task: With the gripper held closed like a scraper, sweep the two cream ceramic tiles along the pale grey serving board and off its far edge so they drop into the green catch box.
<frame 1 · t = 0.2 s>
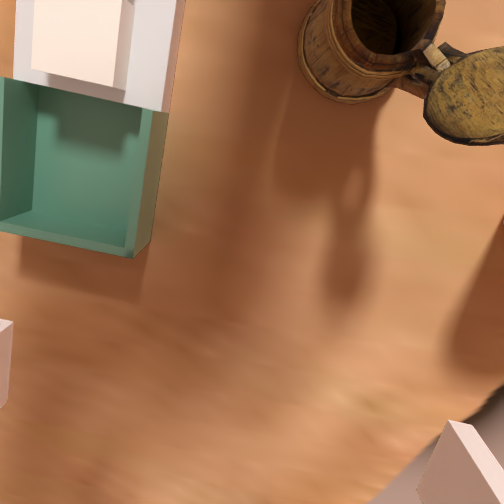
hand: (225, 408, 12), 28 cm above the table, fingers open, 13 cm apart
wooden mug: (367, 69, 35), on the table
tile b: (92, 41, 32), point 3 cm above the table, touching board
catch box: (94, 166, 38), on the table
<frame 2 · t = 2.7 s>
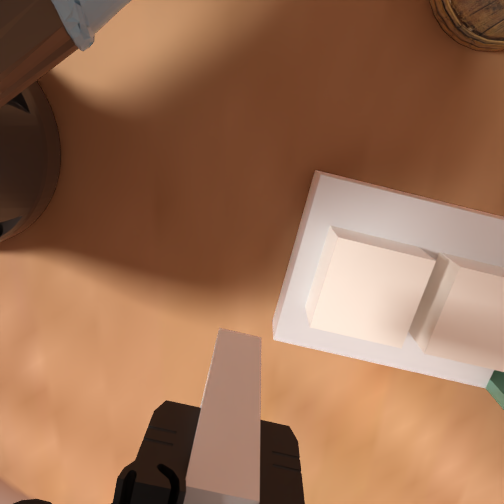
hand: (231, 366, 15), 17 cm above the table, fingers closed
tile b: (465, 302, 28), point 3 cm above the table, touching board
tile a: (359, 277, 28), point 3 cm above the table, touching board
board: (395, 274, 31), on the table
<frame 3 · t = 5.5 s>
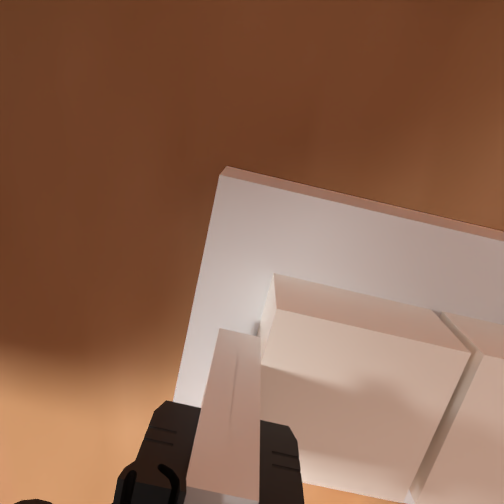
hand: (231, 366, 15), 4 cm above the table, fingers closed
tile b: (487, 395, 16), point 3 cm above the table, touching board
tile a: (329, 361, 16), point 3 cm above the table, touching board, gripper
board: (370, 336, 19), on the table
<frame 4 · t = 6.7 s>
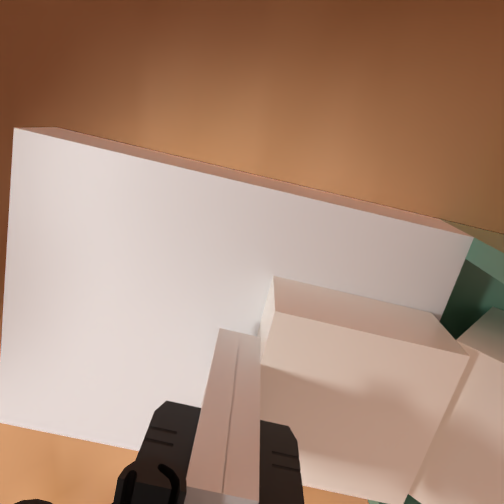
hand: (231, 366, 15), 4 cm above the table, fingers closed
tile b: (447, 387, 16), point 3 cm above the table, tilted 50°, touching catch box, tile a
tile a: (329, 364, 16), point 3 cm above the table, touching board, tile b
board: (221, 304, 19), on the table
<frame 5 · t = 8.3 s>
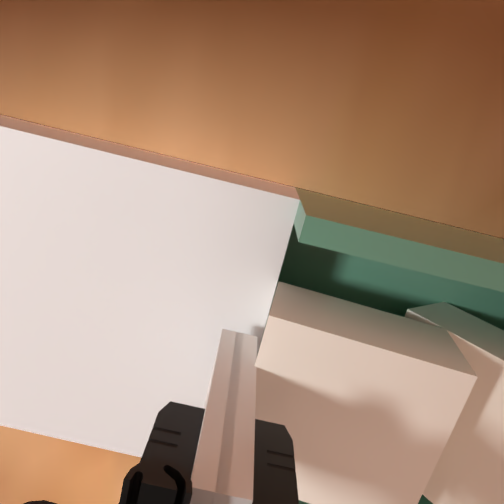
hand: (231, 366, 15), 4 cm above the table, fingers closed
tile b: (454, 428, 14), point 5 cm above the table, tilted 131°, touching catch box, tile a
tile a: (335, 376, 15), point 3 cm above the table, tilted 7°, touching gripper, tile b
board: (83, 276, 18), on the table
catch box: (389, 349, 19), on the table
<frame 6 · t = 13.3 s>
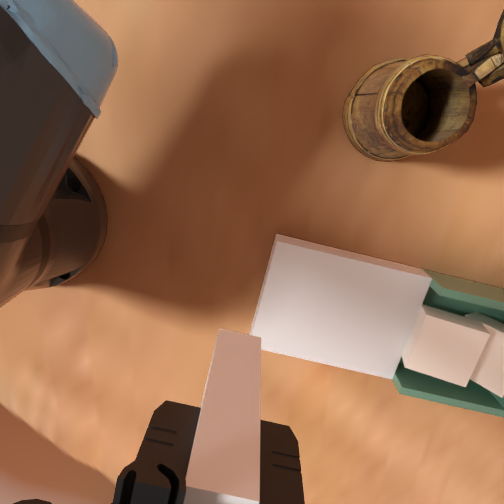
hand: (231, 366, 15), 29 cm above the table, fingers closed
wooden mug: (409, 97, 39), on the table
tile b: (483, 355, 42), point 5 cm above the table, tilted 131°, touching catch box, tile a
tile a: (439, 337, 43), point 3 cm above the table, tilted 11°, touching board, tile b
board: (332, 301, 45), on the table
catch box: (453, 330, 46), on the table
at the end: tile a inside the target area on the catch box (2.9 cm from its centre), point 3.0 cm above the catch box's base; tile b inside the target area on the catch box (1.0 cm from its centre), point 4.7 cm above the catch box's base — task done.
